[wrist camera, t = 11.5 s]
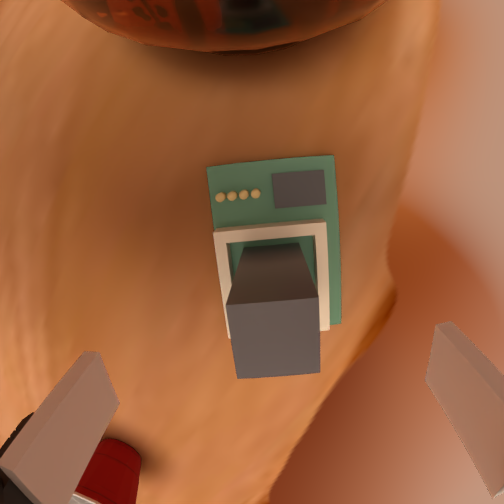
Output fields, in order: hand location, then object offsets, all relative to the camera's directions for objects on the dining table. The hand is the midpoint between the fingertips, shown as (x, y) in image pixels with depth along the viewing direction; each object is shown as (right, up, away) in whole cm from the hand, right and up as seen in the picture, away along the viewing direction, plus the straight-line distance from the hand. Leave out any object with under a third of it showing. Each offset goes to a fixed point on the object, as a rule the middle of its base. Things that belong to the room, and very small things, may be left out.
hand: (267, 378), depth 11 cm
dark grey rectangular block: (+1, +3, +13) cm, 13 cm away
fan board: (+1, +5, +13) cm, 14 cm away
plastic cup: (-17, -20, +21) cm, 34 cm away
